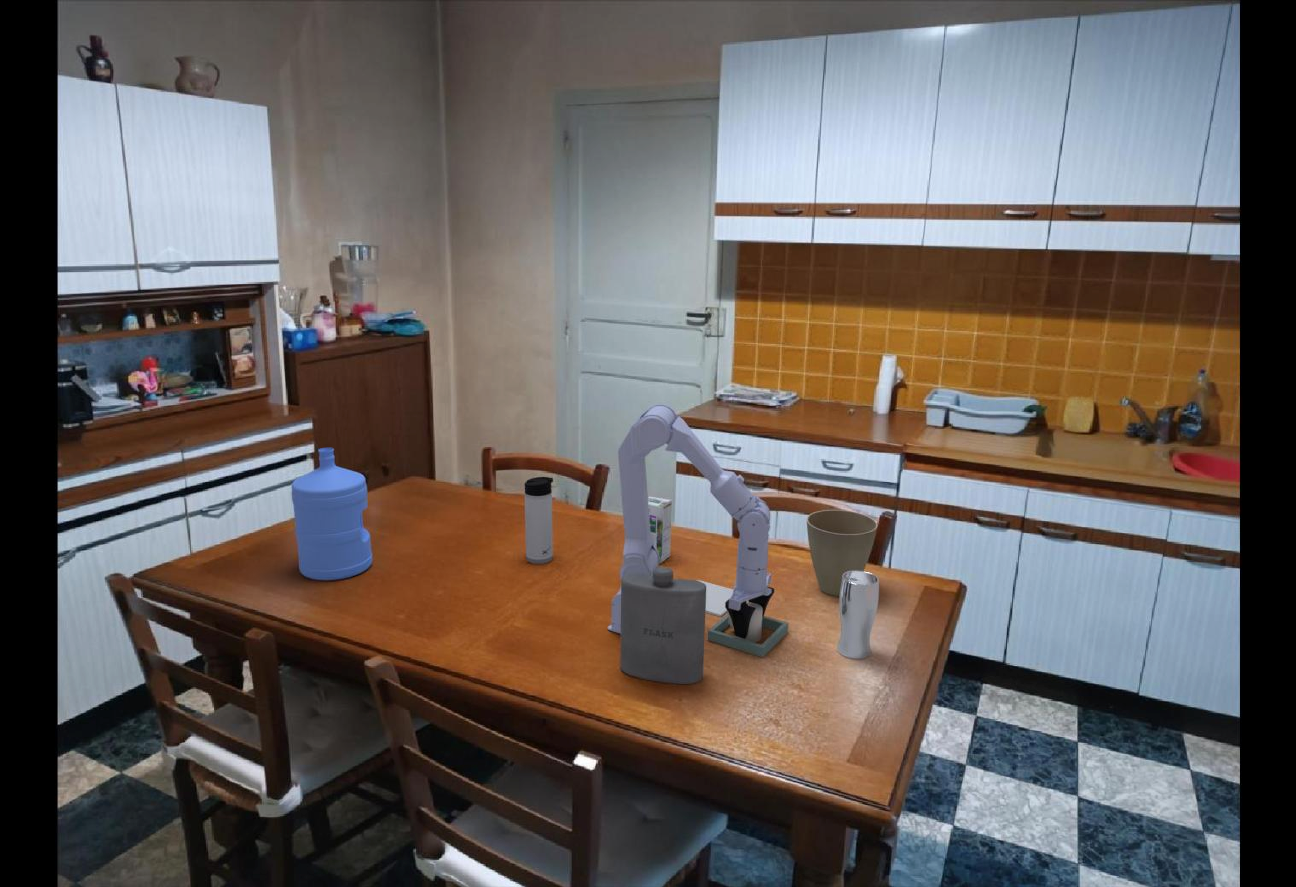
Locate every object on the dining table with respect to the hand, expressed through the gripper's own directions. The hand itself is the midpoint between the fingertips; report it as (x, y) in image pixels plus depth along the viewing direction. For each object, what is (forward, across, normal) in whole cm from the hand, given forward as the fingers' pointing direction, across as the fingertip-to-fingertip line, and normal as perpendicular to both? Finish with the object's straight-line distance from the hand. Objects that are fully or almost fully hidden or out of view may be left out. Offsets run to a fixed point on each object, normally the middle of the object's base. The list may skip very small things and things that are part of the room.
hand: (748, 629), depth 154 cm
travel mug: (+2, +6, +57) cm, 57 cm away
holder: (+1, 0, 0) cm, 1 cm away
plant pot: (+2, +30, -7) cm, 31 cm away
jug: (+2, 0, 0) cm, 2 cm away
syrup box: (+2, +22, +35) cm, 41 cm away
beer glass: (+2, +6, -19) cm, 20 cm away
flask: (+2, -21, +7) cm, 22 cm away
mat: (+1, +10, +14) cm, 17 cm away
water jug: (+2, -24, +92) cm, 95 cm away
